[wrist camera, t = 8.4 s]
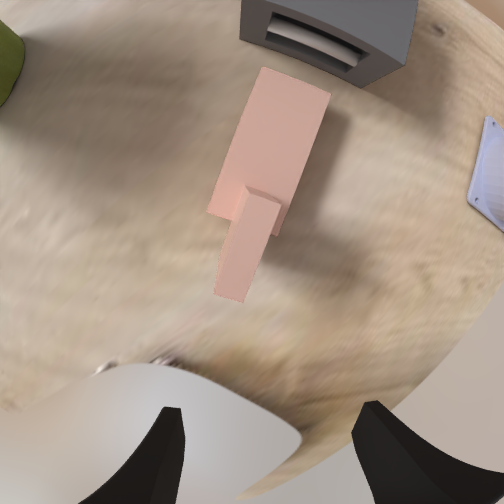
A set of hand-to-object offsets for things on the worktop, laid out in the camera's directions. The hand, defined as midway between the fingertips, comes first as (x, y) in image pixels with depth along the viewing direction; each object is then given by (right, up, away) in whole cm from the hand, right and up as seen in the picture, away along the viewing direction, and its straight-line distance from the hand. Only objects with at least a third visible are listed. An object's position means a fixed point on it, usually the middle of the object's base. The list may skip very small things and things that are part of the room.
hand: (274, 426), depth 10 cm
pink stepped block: (0, +11, +5) cm, 12 cm away
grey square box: (+3, +22, +4) cm, 22 cm away
